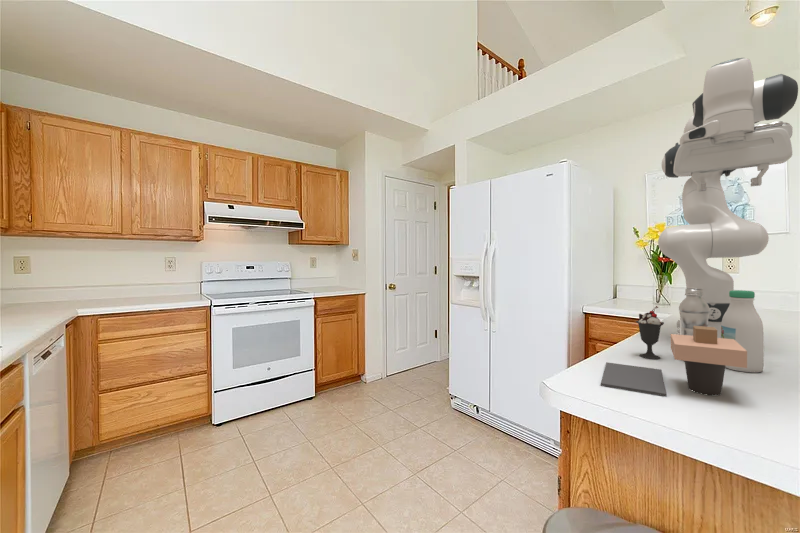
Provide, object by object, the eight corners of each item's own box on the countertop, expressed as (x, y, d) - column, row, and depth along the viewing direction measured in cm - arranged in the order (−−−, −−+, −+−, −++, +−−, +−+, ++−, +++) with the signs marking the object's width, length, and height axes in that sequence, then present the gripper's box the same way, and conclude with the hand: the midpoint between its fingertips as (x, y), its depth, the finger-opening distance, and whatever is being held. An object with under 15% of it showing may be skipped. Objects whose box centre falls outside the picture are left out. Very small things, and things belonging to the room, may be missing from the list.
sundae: (666, 361, 95) (666, 307, 94) (637, 358, 98) (636, 306, 98) (662, 355, 101) (662, 304, 100) (634, 352, 104) (634, 303, 103)
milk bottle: (762, 367, 88) (762, 290, 87) (764, 375, 82) (764, 293, 82) (721, 361, 93) (721, 288, 93) (720, 369, 88) (720, 291, 87)
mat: (606, 364, 94) (606, 362, 94) (661, 371, 87) (661, 369, 87) (600, 385, 79) (600, 383, 79) (666, 396, 72) (666, 393, 72)
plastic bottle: (717, 365, 91) (716, 290, 90) (687, 364, 92) (687, 290, 91) (700, 358, 97) (700, 287, 96) (673, 357, 98) (673, 288, 98)
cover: (670, 347, 82) (670, 321, 82) (733, 354, 76) (733, 325, 75) (674, 359, 73) (674, 330, 73) (747, 368, 67) (747, 335, 66)
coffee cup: (682, 381, 80) (682, 338, 80) (730, 389, 75) (730, 344, 74) (678, 391, 74) (678, 346, 74) (730, 401, 69) (730, 352, 68)
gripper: (787, 123, 78) (787, 184, 78) (672, 142, 89) (672, 195, 90) (797, 114, 73) (798, 179, 73) (674, 135, 84) (675, 192, 84)
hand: (727, 188), depth 81 cm, fingers open, 8 cm apart
